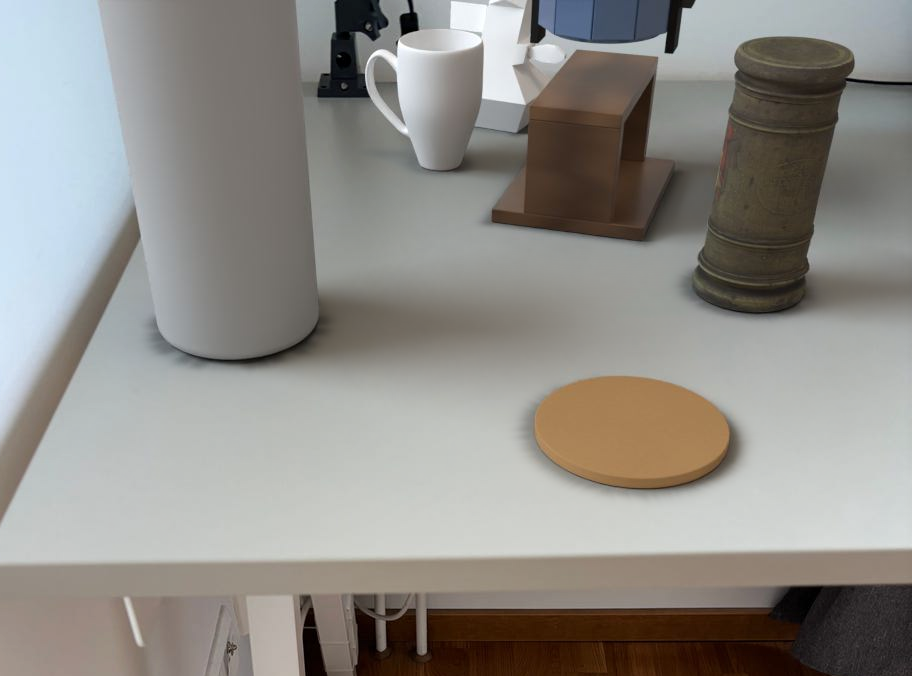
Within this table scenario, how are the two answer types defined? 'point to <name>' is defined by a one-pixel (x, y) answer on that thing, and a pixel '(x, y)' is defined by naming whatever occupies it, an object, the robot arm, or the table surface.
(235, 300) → the cylinder vase
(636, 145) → the stand
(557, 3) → the bowl
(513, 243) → the table surface
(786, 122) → the container
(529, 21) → the white faceted sculpture
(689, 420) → the coaster
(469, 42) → the mug
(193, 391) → the table surface
